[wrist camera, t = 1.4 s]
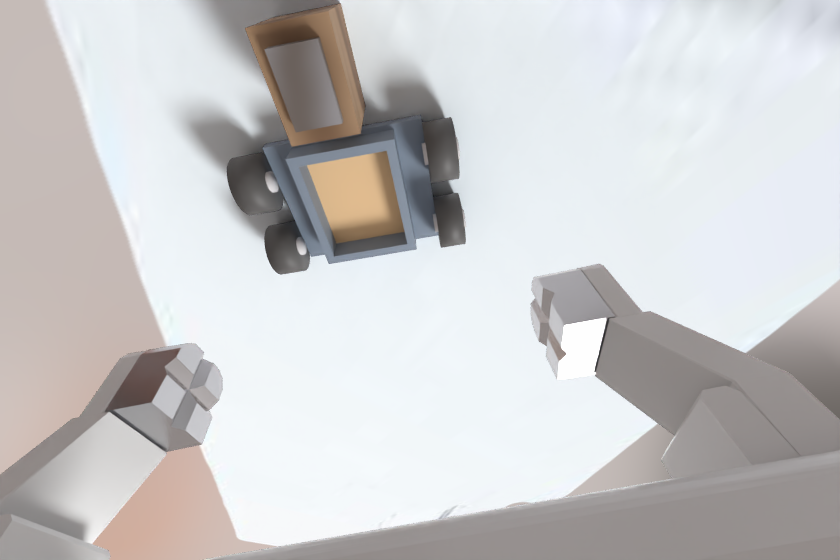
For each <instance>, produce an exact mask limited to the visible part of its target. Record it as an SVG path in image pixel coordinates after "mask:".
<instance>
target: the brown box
mask: <svg viewBox="0 0 840 560" xmlns="http://www.w3.org/2000/svg"><path fill="white" fill-rule="evenodd" d="M245 30H246V32H247V35H248V37H249V40H250V42H251V45H252V47H253V50H254V53H255V55H256V58H257V60H258V63H259V65H260V68H261V70H262V73H263V75H264V78H265V80H266V83H267V85H268V88H269V90H270V93H271V96H272V98H273V101H274V103H275V106H276V108H277V111H278V113H279V116H280V118H281V121H282V123H283V126H284V128H285V131H286V133H287V136H288V138H289V141H290V144H291V146H292V147H293V146H298V145H303V144H309V143H314V142H319V141H325V140H330V139H335V138H341V137H346V136H351V135H357V134H361V128H362V123H363V117H364V111H365V102H364V98H363V94H362V90H361V86H360V81H359V77H358V73H357V69H356V65H355V61H354V57H353V52H352V48H351V44H350V40H349V36H348V32H347V28H346V23H345V19H344V15H343V11H342V7H341V3H340V4H336V5H331V6H326V7H321V8H316V9H311V10H307V11H302V12H297V13H292V14H287V15H283V16H278V17H273V18H271V19H268V20H265V21H263V22H260V23H257V24H255V25H252V26H249V27H247V28H245Z"/></svg>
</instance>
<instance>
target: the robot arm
mask: <svg viewBox="0 0 840 560" xmlns="http://www.w3.org/2000/svg"><path fill="white" fill-rule="evenodd" d="M531 290H532V292H533V294H534V296H535V299H534V301H533V302H532V303H531V319H532V325H533V328H534V331H535V334H536V336H537V338H538V340H539V342H541V343H543V344H544V345H546V346H547V349H546V358H547V360H548V362H549V364H550V366H551V368H552V370H553V372H554V374H555V376H556V379H557V380H559V379H566V378H572V377H579V376H585V375H592V374H595V376H596V377H597V378H598V379H600V380H601V381H602V382H604V383H605V384H606V385H608V386H609V387H610V388H612V389H613V390H614V391H616V392H617V393H618V394H620V395H621V396H622V397H624V398H625V399H626V400H628V401H629V402H630V403H632V404H633V405H634V406H636V407H637V408H638V409H640V410H641V411H642V412H644V413H645V414H646V415H647V416H649V417H650V418H651V419H653V420H654V421H655V422H657V423H658V424H659V425H661V426H662V427H663V428H665V429H666V430H668V431H669V432H670V433H672V434H673V435H674V438H673V439H672V441H671V443H670V444H669V446H668V447H667V449H666V451H665V453H664V455H663V457H662V459H661V461H662V463H663V465H664V466H665V468H666V470H667V472H668V473H669V475H670V477H671V478H672V479H669V480H663V481H657V482H651V483H645V484H640V485H634V486H628V487H622V488H616V489H611V490H605V491H599V492H593V493H587V494H581V495H576V496H570V497H564V498H558V499H552V500H546V501H541V502H535V503H529V504H524V505H518V506H512V507H506V508H500V509H494V510H488V511H482V512H477V513H471V514H465V515H459V516H453V517H448V518H442V519H436V520H430V521H424V522H419V523H413V524H407V525H401V526H395V527H389V528H384V529H378V530H372V531H366V532H360V533H355V534H349V535H343V536H337V537H331V538H325V539H320V540H314V541H308V542H302V543H296V544H291V545H285V546H279V547H273V548H267V549H261V550H256V551H250V552H244V553H238V554H232V555H227V556H221V557H215V558H209V559H203V560H840V420H839V419H838V418H837V417H836V416H835V415H834V414H833V413H832V412H831V411H830V410H829V409H828V408H826V407H825V406H824V405H823V404H822V403H821V402H820V401H819V400H818V399H817V398H816V397H815V396H813V395H812V394H811V393H810V392H809V391H808V390H807V389H806V388H805V387H804V386H803V385H802V384H801V383H800V382H798V381H797V380H796V379H795V378H794V377H793V376H792V375H791V374H790V373H788V372H786V371H784V370H782V369H779V368H777V367H775V366H773V365H770V364H768V363H766V362H764V361H761V360H759V359H757V358H755V357H752V356H750V355H748V354H746V353H743V352H741V351H739V350H737V349H734V348H732V347H730V346H728V345H725V344H723V343H721V342H719V341H716V340H714V339H712V338H709V337H707V336H705V335H703V334H700V333H698V332H696V331H694V330H691V329H689V328H687V327H685V326H682V325H680V324H678V323H676V322H673V321H671V320H669V319H667V318H664V317H662V316H660V315H658V314H655V313H653V312H651V311H648V312H642V311H641V309H640V308H639V307H638V306H637V305H636V304H635V302H634V301H633V300H632V299H631V298H630V296H629V295H628V294H627V293H626V292H625V291H624V289H623V288H622V287H621V286H620V285H619V283H618V282H617V281H616V280H615V279H614V277H613V276H612V275H611V274H610V273H609V272H608V270H607V269H606V268H605V267H604V266H603V265H601V264H596V265H591V266H586V267H581V268H577V269H572V270H567V271H562V272H557V273H552V274H547V275H542V276H537V277H534V278H533V280H532V289H531ZM203 355H204V352H203V351H202V350H201V349H200V348H199V347H198V346H197V345H196V344H193V343H186V344H180V345H174V346H168V347H162V348H156V349H150V350H147V351H141V352H135V353H129V354H127V355H125V356H123V357H122V358H120V359H119V361H118V362H117V363H116V365H115V366H114V368H113V369H112V371H111V372H110V373H109V375H108V376H107V378H106V379H105V381H104V382H103V384H102V385H101V386H100V388H99V389H98V391H97V392H96V394H95V395H94V397H93V398H92V399H91V401H90V402H89V404H88V405H87V406H86V408H85V409H84V411H83V412H82V414H81V415H80V417H78V418H73V419H71V420H70V421H68V422H67V423H66V424H65V425H63V426H62V427H61V428H60V429H58V430H57V431H56V432H54V433H53V434H52V435H50V436H49V437H48V438H47V439H45V440H44V441H43V442H41V443H40V444H39V445H38V446H36V447H35V448H34V449H32V450H31V451H30V452H29V453H27V454H26V455H25V456H23V457H22V458H21V459H20V460H18V461H17V462H16V463H15V464H13V465H12V466H11V467H9V468H8V469H7V470H5V471H4V472H3V473H2V474H0V560H109V559H110V553H109V550H106V549H103V548H101V547H98V546H95V545H93V544H92V543H93V542H94V541H95V539H96V538H97V537H98V536H99V535H100V533H101V532H102V531H103V530H104V529H105V528H106V526H107V525H108V524H109V522H110V521H111V520H112V519H113V518H114V517H115V516H116V514H117V513H118V512H119V511H120V510H121V508H122V507H123V506H124V505H125V504H126V502H127V501H128V500H129V499H130V498H131V496H132V495H133V494H134V493H135V492H136V490H137V489H138V488H139V487H140V485H141V484H142V483H143V482H144V481H145V480H146V478H147V477H148V476H149V475H150V474H151V472H152V471H153V470H154V469H155V467H156V466H157V465H158V464H159V463H160V462H161V460H162V459H163V458H164V457H165V456H166V454H167V453H166V452H168V451H173V450H177V449H182V448H187V447H192V446H196V445H201V444H202V443H203V441H204V438H205V435H206V433H207V430H208V427H209V425H210V422H211V420H212V416H211V413H210V411H209V410H210V409H211V408H212V407H213V406H214V405H215V404H216V403H217V402H218V401H219V398H220V395H221V393H222V376H221V373H220V371H219V369H218V368H217V367H216V365H215V364H214V363H211V362H209V361H207V360H204V359H203Z"/></svg>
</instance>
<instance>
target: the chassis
mask: <svg viewBox="0 0 840 560" xmlns="http://www.w3.org/2000/svg"><path fill="white" fill-rule="evenodd" d="M263 151H264V153H265V154H264V153H257V154H251V155H246V156H241V157H235V158H232V159H231V160H230V161H229V163H228V166H227V178H228V183H229V187H230V190H231V193H232V195H233V198H234V199H235V201H236V203H237V205H238V206H239V207H240V209H241V210H242V211H243V212H245V213H246V214H248V215H256V214H262V213H267V212H273V211H279V210H280V209H281V208H282V206H283V195H284V197H285V199H286V202H287V204H288V206H289V208H290V211H291V213H292V215H293V217H294V219H295V221H294V222H288V223H283V224H277V225H271V226H269V227H268V228H267V229H266V232H265V250H266V254H267V257H268V260H269V262H270V264H271V266H272V268H273V269H274V270H275V272H277V273H278V274H287V273H293V272H299V271H305V270H307V269H308V267H309V262H310V255H311V257H313V256H319V255H325V256H326V258H327V261H328V263H329V264H332V263H338V262H344V261H350V260H356V259H362V258H368V257H373V256H379V255H385V254H391V253H397V252H403V251H409V250H415V249H417V248H416V239H419V238H425V237H431V236H437V235H439V240H440V245H441V248H442V247H448V246H454V245H460V244H465V242H466V237H465V227H466V222H465V215H464V210H463V209H462V207H461V202H460V198H459V195H458V193H454V194H448V195H442V196H437V197H433V195H432V188H431V183H436V182H442V181H448V180H453V179H459V159H460V153H459V145H458V139H457V137H456V136H455V130H454V125H453V121H452V119H451V117H449V118H444V119H439V120H433V121H428V122H423V123H422V121H421V115H417V116H412V117H407V118H401V119H396V120H391V121H385V122H380V123H375V124H369V125H364V126H362V128H361V134H357V135H351V136H346V137H341V138H335V139H330V140H325V141H319V142H314V143H309V144H303V145H298V146H293V147H292V146H291V144H290V141H289V140H284V141H279V142H274V143H268V144H265V145H264V147H263ZM430 179H431V181H430Z"/></svg>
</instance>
